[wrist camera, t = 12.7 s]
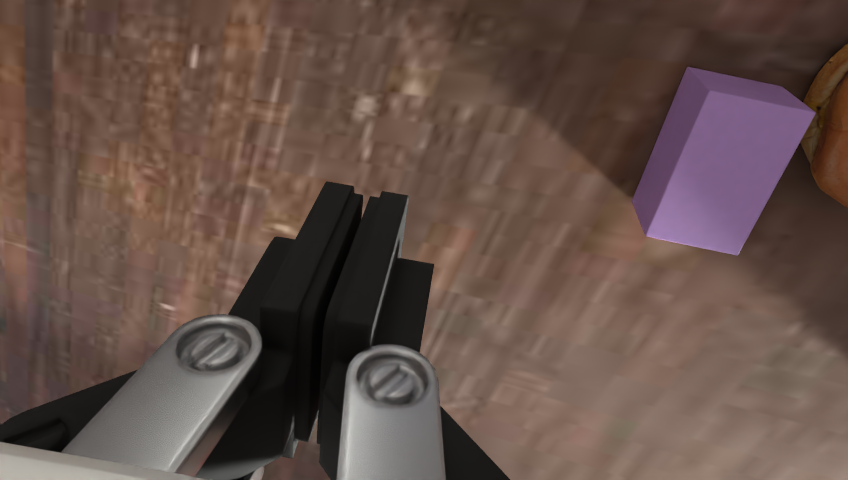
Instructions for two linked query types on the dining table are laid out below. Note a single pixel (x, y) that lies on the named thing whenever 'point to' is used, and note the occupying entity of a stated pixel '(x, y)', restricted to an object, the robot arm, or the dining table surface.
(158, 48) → the dining table surface
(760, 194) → the block
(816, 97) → the burger
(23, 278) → the dining table surface
